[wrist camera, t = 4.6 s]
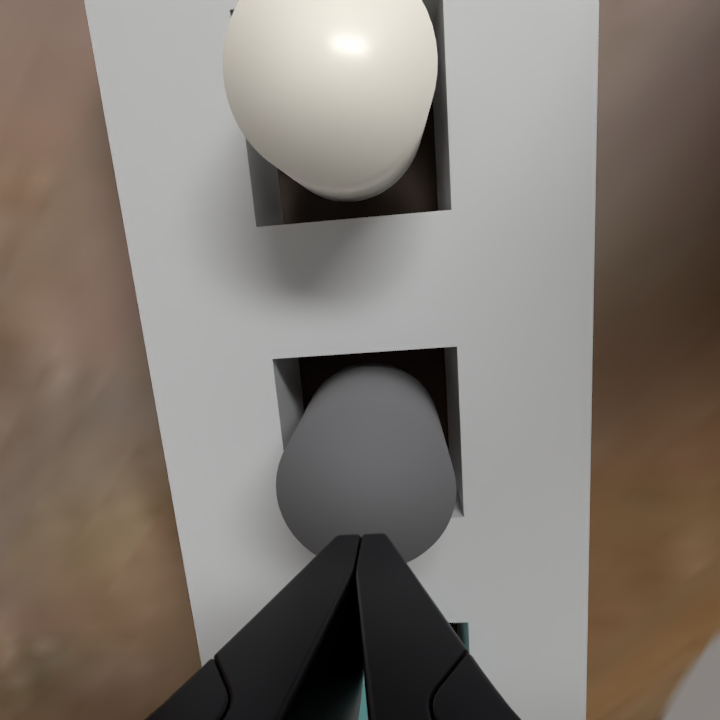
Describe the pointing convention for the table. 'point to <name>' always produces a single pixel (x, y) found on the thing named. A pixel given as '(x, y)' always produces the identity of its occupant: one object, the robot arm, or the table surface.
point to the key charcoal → (368, 463)
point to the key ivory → (332, 88)
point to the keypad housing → (377, 317)
